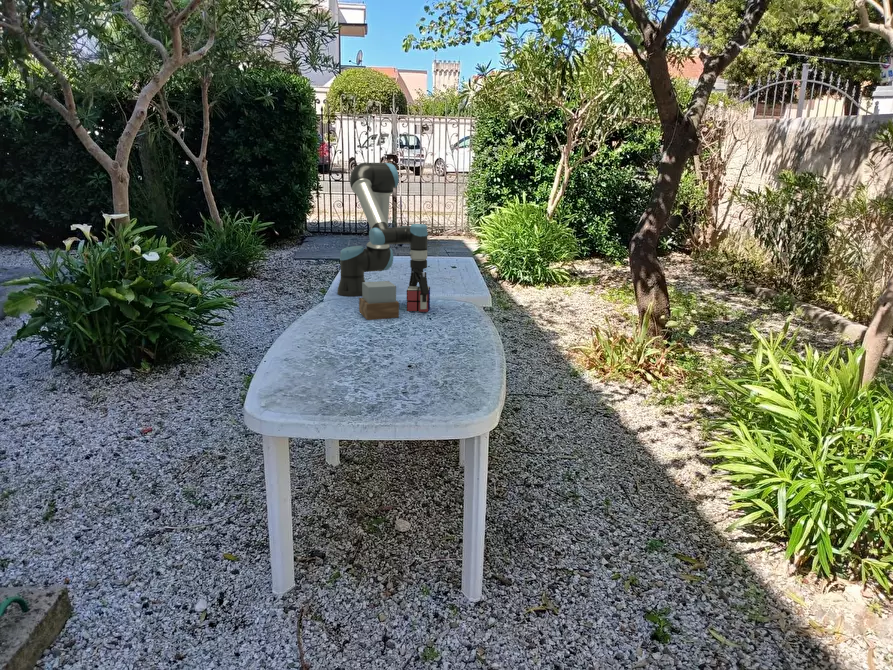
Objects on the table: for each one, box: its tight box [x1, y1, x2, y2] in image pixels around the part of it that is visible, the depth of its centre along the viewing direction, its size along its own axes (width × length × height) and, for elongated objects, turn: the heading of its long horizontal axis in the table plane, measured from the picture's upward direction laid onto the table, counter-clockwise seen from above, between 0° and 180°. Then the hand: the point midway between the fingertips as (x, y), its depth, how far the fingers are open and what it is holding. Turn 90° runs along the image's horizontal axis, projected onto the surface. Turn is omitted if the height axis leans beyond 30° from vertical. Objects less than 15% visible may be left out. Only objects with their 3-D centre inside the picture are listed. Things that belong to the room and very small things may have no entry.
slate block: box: [361, 280, 397, 304], centre depth 275 cm, size 12×12×7 cm
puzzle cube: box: [406, 285, 431, 313], centre depth 288 cm, size 10×10×10 cm
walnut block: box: [358, 297, 400, 321], centre depth 277 cm, size 14×14×7 cm
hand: (418, 305), depth 289 cm, fingers open, 13 cm apart
